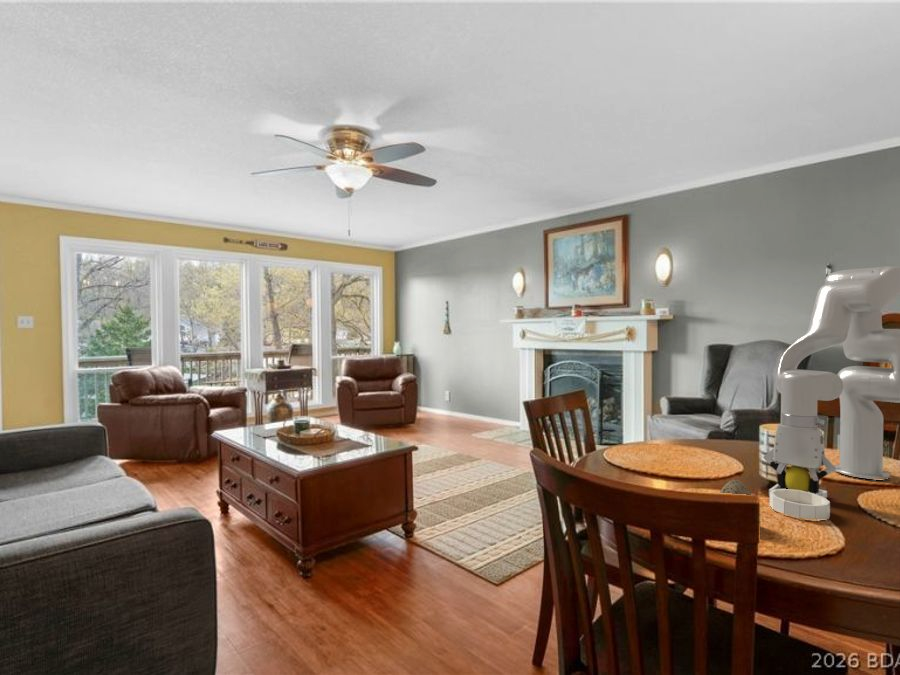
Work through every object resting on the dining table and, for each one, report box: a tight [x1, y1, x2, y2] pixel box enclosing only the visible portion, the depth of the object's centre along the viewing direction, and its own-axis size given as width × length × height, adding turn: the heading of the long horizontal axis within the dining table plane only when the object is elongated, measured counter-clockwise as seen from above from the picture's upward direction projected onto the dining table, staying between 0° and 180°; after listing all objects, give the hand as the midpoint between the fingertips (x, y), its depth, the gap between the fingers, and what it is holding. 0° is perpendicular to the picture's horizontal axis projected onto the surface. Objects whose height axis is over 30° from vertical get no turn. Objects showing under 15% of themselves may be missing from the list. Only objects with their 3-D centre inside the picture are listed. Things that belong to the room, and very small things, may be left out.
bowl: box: [769, 489, 831, 521], centre depth 111 cm, size 11×11×4 cm
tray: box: [768, 483, 828, 499], centre depth 121 cm, size 10×10×2 cm
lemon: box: [785, 466, 812, 492], centre depth 121 cm, size 6×6×8 cm
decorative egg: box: [719, 479, 752, 495], centre depth 104 cm, size 7×7×10 cm
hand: (797, 491), depth 121 cm, fingers closed on lemon, 5 cm apart
